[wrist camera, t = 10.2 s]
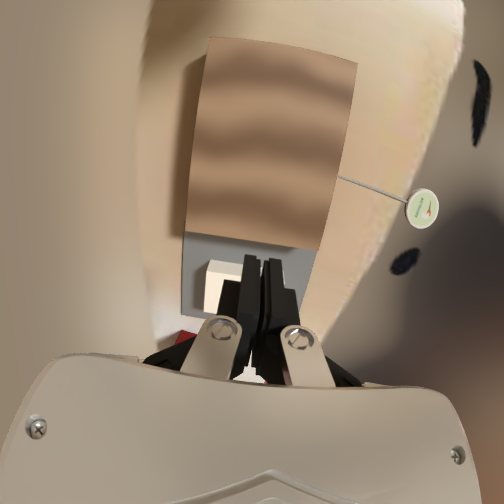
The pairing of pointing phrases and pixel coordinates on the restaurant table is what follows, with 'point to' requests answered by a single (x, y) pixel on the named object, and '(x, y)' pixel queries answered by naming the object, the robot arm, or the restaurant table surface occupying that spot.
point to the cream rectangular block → (219, 281)
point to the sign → (414, 205)
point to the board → (268, 141)
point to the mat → (233, 250)
